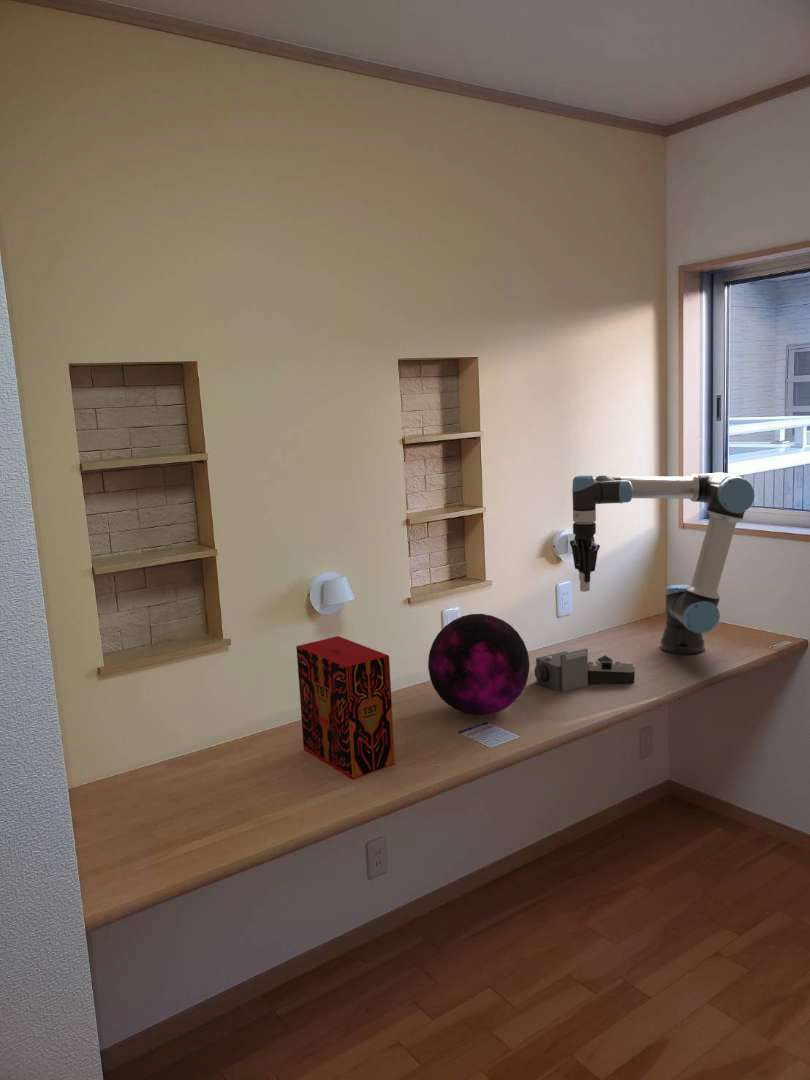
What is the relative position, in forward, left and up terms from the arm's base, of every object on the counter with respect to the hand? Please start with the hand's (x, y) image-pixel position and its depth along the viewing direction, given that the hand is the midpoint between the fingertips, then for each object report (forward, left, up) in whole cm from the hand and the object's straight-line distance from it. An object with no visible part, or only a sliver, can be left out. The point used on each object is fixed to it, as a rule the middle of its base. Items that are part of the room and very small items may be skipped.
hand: (584, 590), depth 299 cm
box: (+100, +22, -27) cm, 106 cm away
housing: (+19, +11, -26) cm, 34 cm away
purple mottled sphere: (+53, +15, -27) cm, 61 cm away
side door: (+19, +17, -25) cm, 36 cm away
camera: (+5, +18, -27) cm, 33 cm away
